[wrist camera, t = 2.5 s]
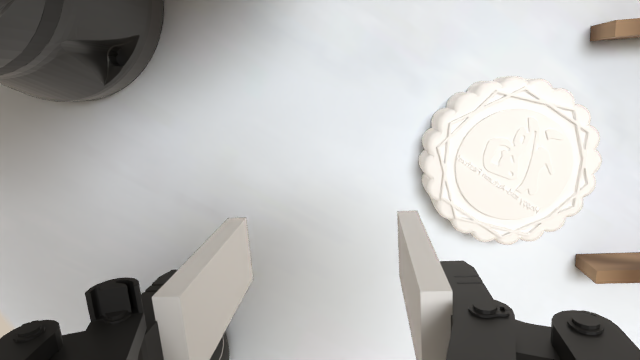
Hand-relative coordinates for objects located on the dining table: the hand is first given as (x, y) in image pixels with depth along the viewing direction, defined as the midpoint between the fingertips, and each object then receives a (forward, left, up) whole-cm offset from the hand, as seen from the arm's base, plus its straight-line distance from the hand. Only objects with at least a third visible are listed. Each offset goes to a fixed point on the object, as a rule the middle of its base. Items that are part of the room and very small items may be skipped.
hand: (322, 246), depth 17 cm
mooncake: (+12, 0, -17) cm, 21 cm away
